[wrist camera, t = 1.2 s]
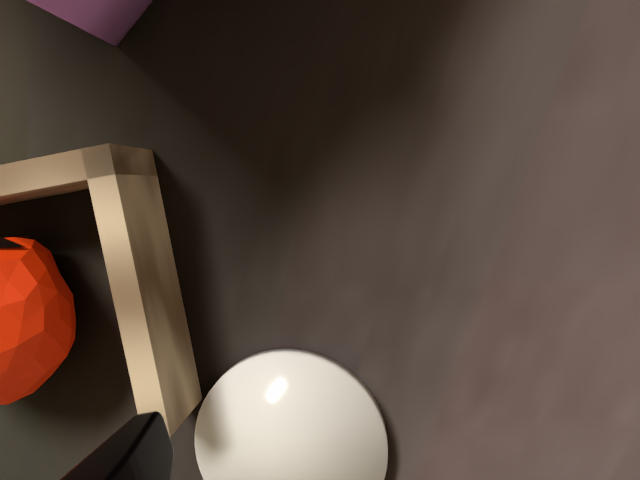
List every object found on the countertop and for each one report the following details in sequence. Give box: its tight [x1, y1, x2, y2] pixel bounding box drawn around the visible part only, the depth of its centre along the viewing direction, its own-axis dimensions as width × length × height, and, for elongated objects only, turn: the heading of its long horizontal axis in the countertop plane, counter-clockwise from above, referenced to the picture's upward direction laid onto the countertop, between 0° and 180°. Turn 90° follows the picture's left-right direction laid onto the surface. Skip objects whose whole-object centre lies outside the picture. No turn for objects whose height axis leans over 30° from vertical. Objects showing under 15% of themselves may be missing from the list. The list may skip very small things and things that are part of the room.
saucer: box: [195, 348, 388, 480], centre depth 22 cm, size 9×9×1 cm
